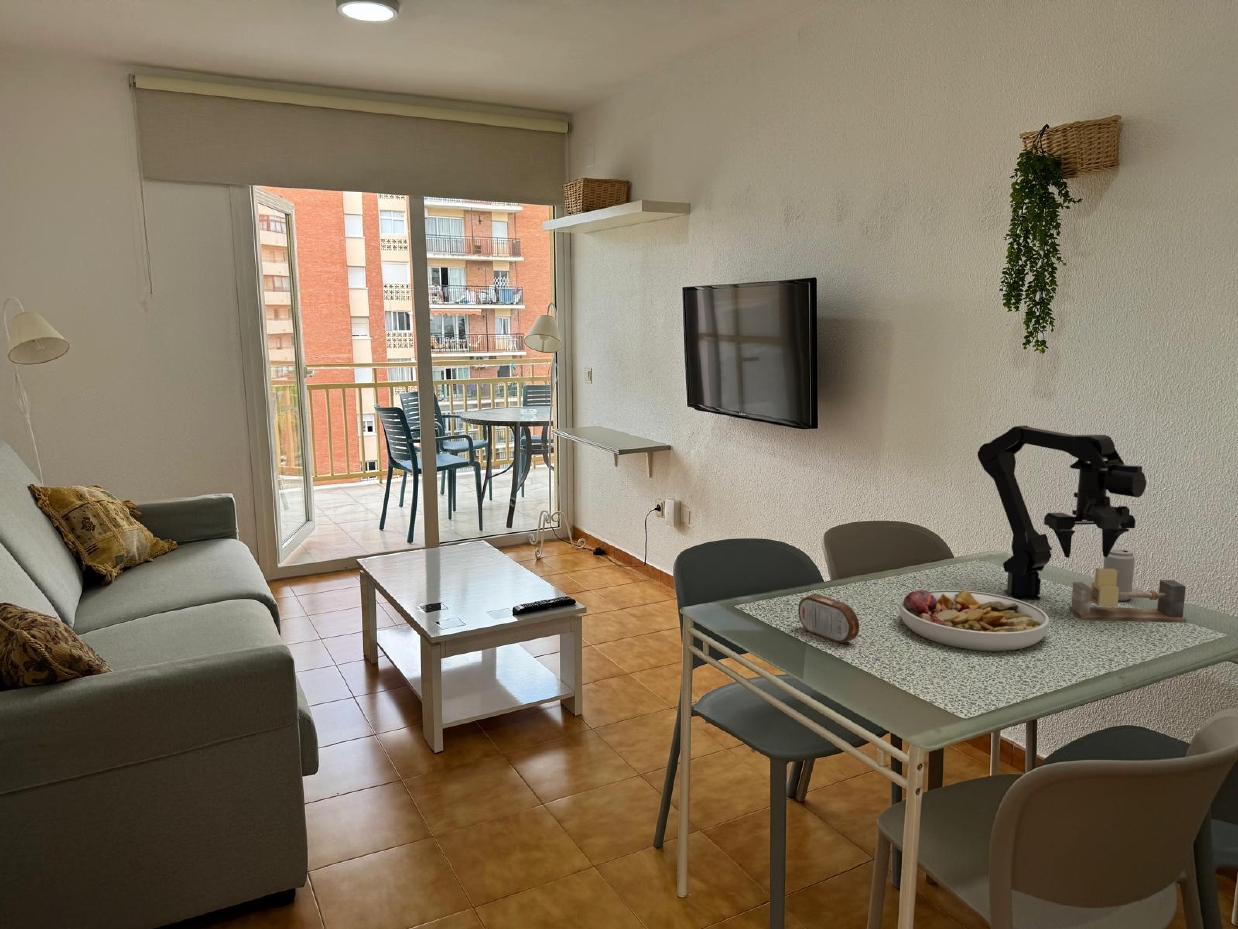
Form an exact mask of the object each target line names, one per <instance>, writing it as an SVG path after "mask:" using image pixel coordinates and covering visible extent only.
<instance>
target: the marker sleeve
mask: <svg viewBox="0 0 1238 929" xmlns="http://www.w3.org/2000/svg"><path fill="white" fill-rule="evenodd" d="M1094 572H1095V574H1094V581H1091V587H1090V588H1092V591H1098V597H1091V602H1092V603H1093V604H1095V605H1096V606H1097V607H1106V608H1118V605H1119V601H1118V594H1119V588H1118V587H1117V586H1116V582H1117V570H1115V569H1103V568H1095V571H1094Z"/></svg>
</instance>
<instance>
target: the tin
mask: <svg viewBox="0 0 1238 929" xmlns="http://www.w3.org/2000/svg"><path fill="white" fill-rule="evenodd" d="M798 619H799V621H800V623H801V625H802V627H803V628H805V630H806V631H807V632H809V633H811V634H813V635H816V636H819V637H821V638H823V639H826V640H830V641H832V642H835V643H838V644H842V643H843V644H845V643H848V642H851V641H854V640H855V639H856V638H857V637H858V634H859V632H860V624H859V619H858V616H857V614H856V612H855V611H854V609H853V608H852V607H851V606H850V605H848V603H845V602H843V601H839V600H836V599H833V598H830V597H827V596H823V595H821V594H818V593H812V594H810V595H808V596H806V597H803V598H802V599H801V600H800V601H799V604H798Z"/></svg>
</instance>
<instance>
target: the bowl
mask: <svg viewBox="0 0 1238 929" xmlns="http://www.w3.org/2000/svg"><path fill="white" fill-rule="evenodd" d="M899 613H900V617H901V619H902V621H903V622H904V624H905V625H906V626H907V627H908V628H909V629H910V630H911V631H913V632H914V633H915V634H916V635H919V636H921V637H922V638H925V639H927V640H930V641H933V642H934V643H938V644H940V645H945V646H949V647H954V648H959V649H964V650H965V649H966V650H972V651H973V650H974V651H985V652H1005V651H1006V652H1008V651H1016V650H1020V649H1024V648H1027V647H1030V646H1033V645H1035V644H1037V643H1038V642H1040V641H1042V639H1043V638H1045V635H1046V634H1047V632H1048V630H1049V625H1050V618H1049V616H1048V614H1047V613H1046V612H1045V611H1044V610H1042V609H1041V608H1039V607H1037V606H1035V605H1033V604H1030V603H1028V602H1026V601H1023V600H1021V599H1014V598H1012V597H1010V596H1009V597H1008V596H1005V595H1001V594H995V593H989V592H983V591H974V590H973V591H972V590H966V589H962V590H961V589H959V590H958V589H935V590H934V589H933V590H926V589H918V590H916V591H910V592H909V593H908V594H907V595H905V596H904V597H903V598H902V599H901V600H900V602H899ZM1007 650H1008V651H1007Z"/></svg>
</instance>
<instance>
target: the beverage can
mask: <svg viewBox="0 0 1238 929" xmlns="http://www.w3.org/2000/svg"><path fill="white" fill-rule="evenodd" d="M1103 558H1104V559H1103V566H1102V567H1103V568H1102V569H1115V570H1117V582H1116V586H1117V587H1118V588H1119V592H1133V582H1134V571H1135V570H1134V569H1135V555H1134V551H1133V550H1131V549H1128V548H1127V549H1126V548H1120V547H1119V548H1118V547H1112V549H1111V551H1110V553H1109V555H1108V557H1104V556H1103ZM1129 599H1130V600H1131V598H1129V597H1118V602H1128V601H1129Z"/></svg>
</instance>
